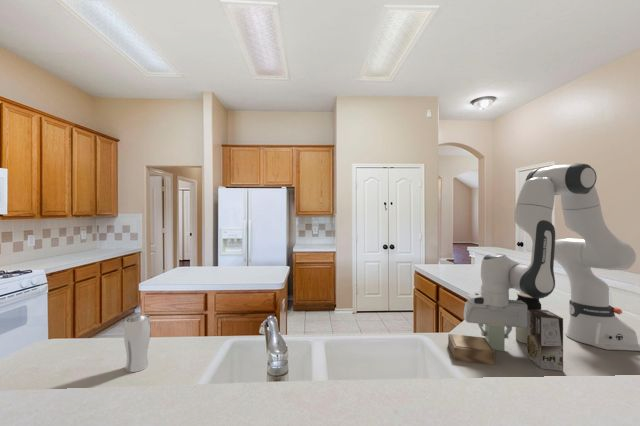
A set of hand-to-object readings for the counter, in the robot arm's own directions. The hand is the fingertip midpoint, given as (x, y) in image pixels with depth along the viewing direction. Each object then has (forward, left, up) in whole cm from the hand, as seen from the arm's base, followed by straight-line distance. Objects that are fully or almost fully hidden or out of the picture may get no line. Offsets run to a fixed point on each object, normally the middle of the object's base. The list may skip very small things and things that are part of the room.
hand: (494, 336), depth 107 cm
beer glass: (+111, +48, -4) cm, 121 cm away
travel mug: (-14, -9, -4) cm, 17 cm away
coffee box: (-12, +9, -4) cm, 15 cm away
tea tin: (0, 0, -4) cm, 4 cm away
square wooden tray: (+10, +9, -4) cm, 14 cm away
